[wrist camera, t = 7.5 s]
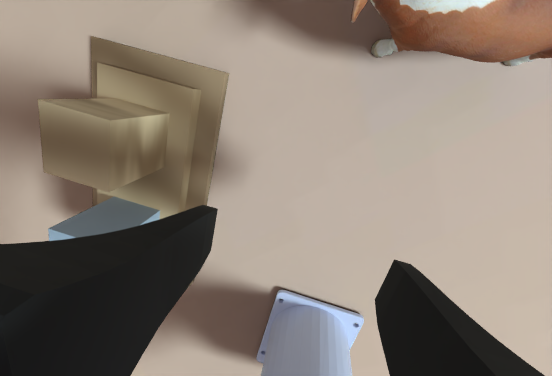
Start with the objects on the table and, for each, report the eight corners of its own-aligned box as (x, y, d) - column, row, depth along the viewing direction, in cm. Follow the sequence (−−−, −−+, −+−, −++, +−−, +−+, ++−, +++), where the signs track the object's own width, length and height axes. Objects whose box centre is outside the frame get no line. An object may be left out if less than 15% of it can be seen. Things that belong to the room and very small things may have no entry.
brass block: (164, 167, 20) (109, 192, 14) (115, 152, 20) (43, 172, 15) (169, 113, 18) (110, 120, 13) (116, 98, 18) (37, 99, 13)
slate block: (156, 251, 22) (107, 297, 17) (113, 237, 23) (52, 279, 17) (160, 210, 21) (108, 247, 16) (114, 196, 21) (48, 228, 16)
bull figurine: (330, -30, 16) (340, -147, 8) (572, 1, 14) (851, -103, 7) (315, 51, 17) (311, 16, 10) (532, 85, 16) (724, 76, 8)
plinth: (193, 280, 25) (183, 295, 24) (99, 249, 26) (82, 261, 24) (228, 73, 19) (218, 71, 17) (100, 38, 19) (76, 32, 17)
